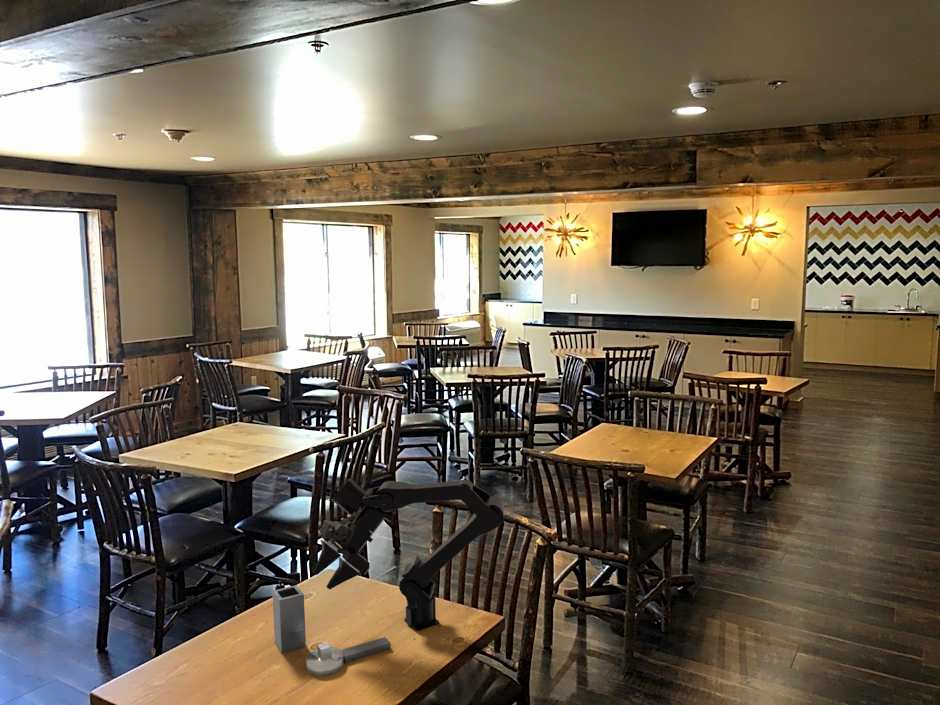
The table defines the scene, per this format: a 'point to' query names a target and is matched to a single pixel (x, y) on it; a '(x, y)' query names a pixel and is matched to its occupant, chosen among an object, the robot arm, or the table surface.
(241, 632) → the table surface
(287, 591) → the socket
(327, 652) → the ratchet
